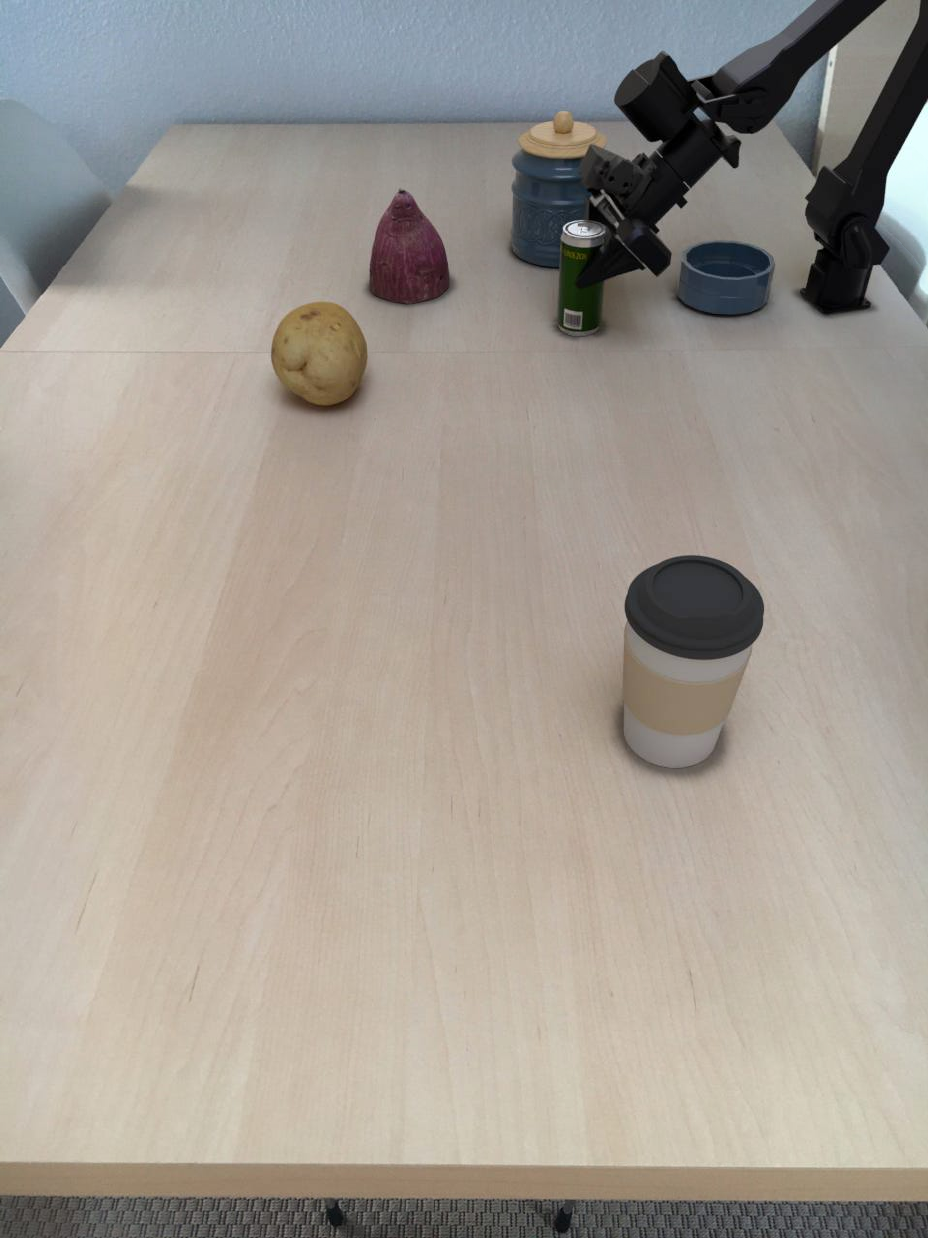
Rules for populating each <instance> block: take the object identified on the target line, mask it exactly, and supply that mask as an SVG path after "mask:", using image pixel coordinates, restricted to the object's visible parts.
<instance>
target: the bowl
mask: <svg viewBox="0 0 928 1238" xmlns="http://www.w3.org/2000/svg"><path fill="white" fill-rule="evenodd" d="M775 261H776V260H775V258H774V256H773V255H772V254H771V253H769V252H768V251H767V250H766V249H765V248H761V247H760V246H756V245H755V244H751V243H749V242H742V241H737V240H726V239H725V240H723V239H722V240H721V239H719V240H718V239H715V240H708V241H701V242H698V243H695V244H693V245H690V246H687V248H686V249H685V250H683V252H682V253H681V254H680V263H679V270H678V276H677V277H678V278H677V284H676V296H677V297H678V298H679V299H680V300H681V301H682V302H683V303H684V304H685V305H687V306H689V307H691V308H693V309H695V310H698V311H701V312H705V313H709V314H715V315H741V314H747V313H752V312H753V311H756V310H758V309H760V308H763V307H764V305H765V304H766V303H767V302H768V301H769V298H770V293H771V287H772V283H773V278H774V273H775V268H776V262H775Z"/></svg>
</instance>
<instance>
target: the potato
mask: <svg viewBox="0 0 928 1238" xmlns="http://www.w3.org/2000/svg"><path fill="white" fill-rule="evenodd" d="M367 345H368V344H367V341H366V338H365V336H364V333H363V331H362V329H361V327H360V326H359V324H358V323H357V320H355V318H354V317H353V315H352V314H351V313H349V311H348V310H347V309H345V308H344V307H343V306H341V305H339V304H338V303H335V302H331V301H315V302H310V303H306V304H305V303H304V304H302V305H299V306H298V307H296V308H294V309H292V310H290V311H289V312H288V313H287V314H286V315H285V316H284V317H283V318H282V319H281V321H280V322H279V324H278V325H277V328H276V329H275V332H274V334H273V338H272V342H271V346H270V347H271V348H270V359H271V360H270V361H271V365H272V368H273V370H274V373H275V375H276V377H277V378H278V380H279V381H280V383H281V384H282V385H283V386H284V387H285V388H286V389H288V390H289V391H291V392H292V393H294V394H295V395H298V396H299V397H301V398H302V399H304V400H305V401H307V402H308V403H311V404H315V405H317V406H333V405H335V404H336V405H337V404H339V403H341V402H342V403H343V402H344V401H345V400H347V399H349V398H350V397H352V395H353V394H354V392H355V391H356V390H357V388H358V387H359V385H360V383H361V381H362V379H363V377H364V374H365V371H366V369H367V365H368V356H369V355H368V346H367Z"/></svg>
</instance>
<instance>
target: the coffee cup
mask: <svg viewBox="0 0 928 1238" xmlns="http://www.w3.org/2000/svg"><path fill="white" fill-rule="evenodd" d="M764 603H765V602H764V600H763V597H762V595H761V592H760V591H759V590H758V588H757V587H756V585H754V583H753V582H752V581H751V580H750V579H748V578H747V577H746V576H745V575H744V574H743V573H742V572H741V571H740V570H739V569H738V568H736V567H734V566H733V565H731V564H730V563H728V562H725V561H723V560H720V559H718V558H714V557H711V556H705V555H698V554H697V555H696V554H687V555H685V554H684V555H677V556H673V557H669V558H667V559H664V560H662V561H660V562H658V563H655V564H654V565H651V566H649V567H648V568H646V569H644V570H642V571H641V572H640V573H638V574H637V575H636V577H634V579H633V580H632V581H631V583H630V584H629V586H628V589H627V593H626V596H625V599H624V614H625V618H626V623H625V625H624V629H623V657H622V660H623V661H622V698H623V702H624V703H623V704H624V705H623V736H624V739H625V741H626V743H627V745H628V746H629V748H630V749H631V750H632V751H633V752H634V753H635V755H637V756H638V757H639V758H641V759H642V760H644V761H646V762H648V763H651V764H652V765H655V766H658V767H663V768H670V769H683V768H688V767H692V766H695V765H697V764H700V763H701V762H704V761H705V760H706V759H707V758H708V757H709V756H710V755H711V754H712V753H713V751H714V750H715V747H716V746H717V745H716V744H717V742H718V739H719V737H720V733H721V731H722V728H723V726H724V723H725V720H726V719H727V717H728V716H729V714H730V712H731V709H732V707H733V705H734V702H735V699H736V696H737V693H738V691H739V688H740V687H741V683H742V680H743V677H744V675H745V673H746V670H747V667H748V664H749V662H750V659H751V656H752V652H753V644H754V643H756V640H757V639H758V638H759V636H760V635H761V633H762V630H763V626H764V614H765V604H764Z"/></svg>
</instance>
